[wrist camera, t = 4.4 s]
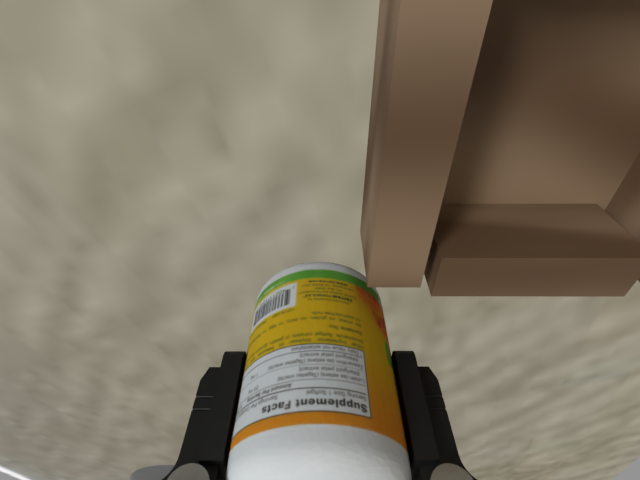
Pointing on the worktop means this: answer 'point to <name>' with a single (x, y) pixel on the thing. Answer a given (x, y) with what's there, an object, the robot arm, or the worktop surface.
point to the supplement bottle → (318, 383)
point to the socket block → (504, 148)
